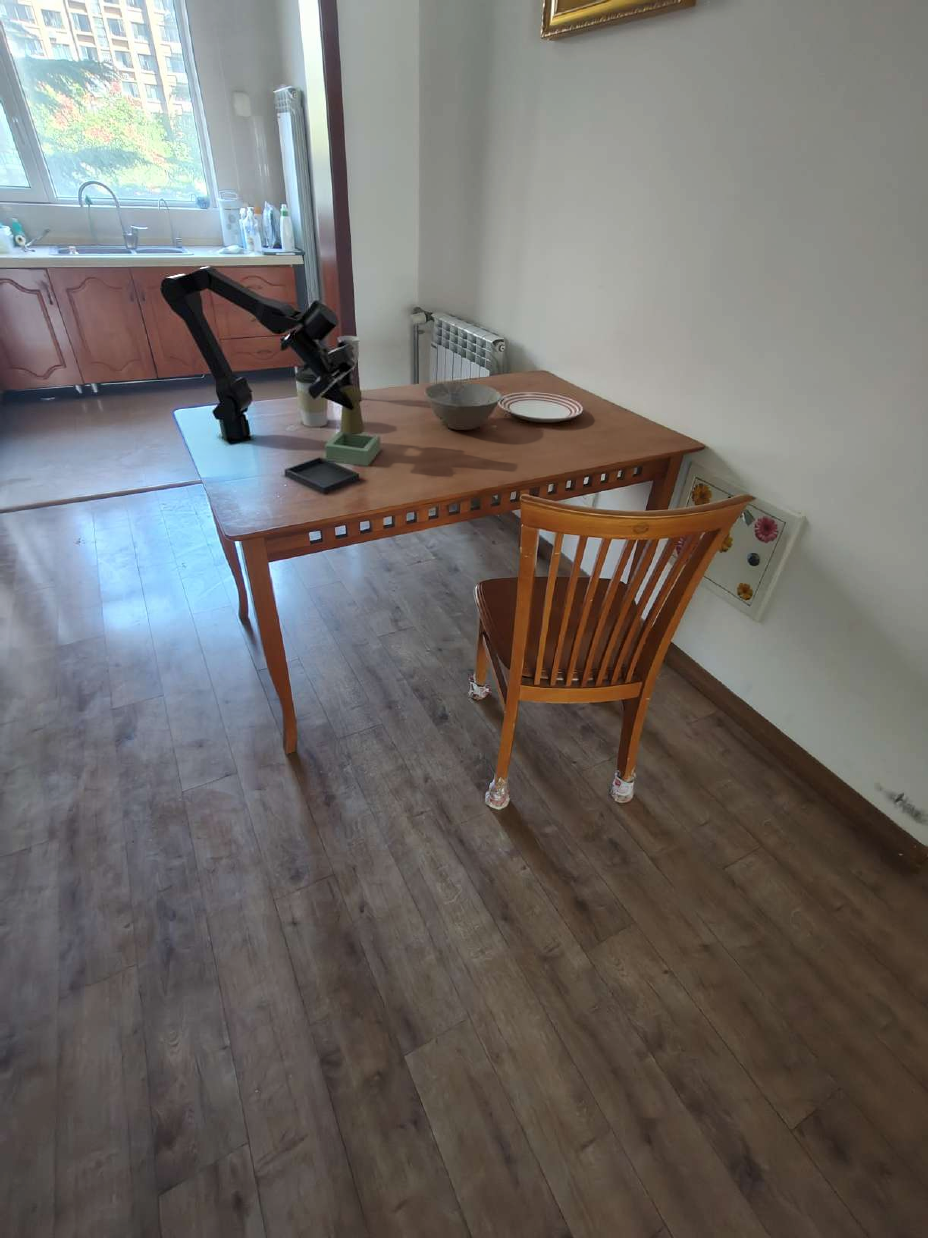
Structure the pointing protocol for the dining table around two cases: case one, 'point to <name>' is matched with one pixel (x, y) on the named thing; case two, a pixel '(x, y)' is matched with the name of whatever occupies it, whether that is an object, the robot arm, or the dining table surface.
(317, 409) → the coffee cup
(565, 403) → the dinner plate
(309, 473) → the tray
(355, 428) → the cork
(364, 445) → the caddy
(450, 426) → the ceramic bowl
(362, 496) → the dining table surface
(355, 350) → the chalice
